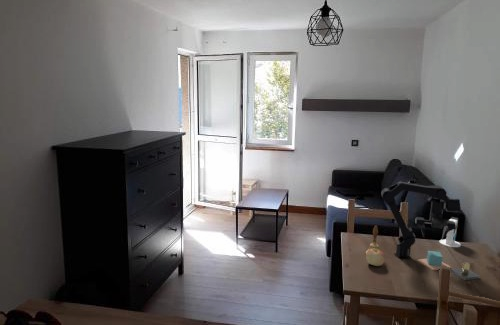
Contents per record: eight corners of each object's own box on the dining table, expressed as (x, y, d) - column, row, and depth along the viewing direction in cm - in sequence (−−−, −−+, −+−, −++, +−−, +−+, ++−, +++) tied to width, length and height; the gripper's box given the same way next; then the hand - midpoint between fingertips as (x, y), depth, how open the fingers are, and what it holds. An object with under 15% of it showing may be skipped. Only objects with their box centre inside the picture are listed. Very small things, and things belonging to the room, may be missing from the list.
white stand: (458, 249, 219) (462, 224, 216) (437, 244, 225) (440, 219, 223) (462, 243, 228) (465, 219, 225) (441, 238, 235) (444, 214, 232)
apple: (368, 259, 202) (370, 245, 200) (385, 264, 197) (387, 249, 195) (363, 265, 195) (364, 250, 193) (380, 270, 190) (382, 255, 188)
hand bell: (362, 252, 211) (364, 224, 208) (374, 250, 214) (376, 222, 211) (372, 258, 204) (375, 229, 201) (384, 256, 207) (387, 228, 204)
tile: (432, 270, 192) (432, 268, 191) (417, 260, 202) (417, 259, 202) (450, 268, 194) (450, 266, 194) (435, 259, 205) (435, 257, 205)
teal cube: (428, 264, 196) (429, 255, 195) (426, 259, 202) (427, 250, 201) (441, 266, 194) (442, 256, 194) (438, 261, 200) (440, 252, 199)
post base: (464, 280, 182) (466, 268, 181) (450, 271, 191) (451, 260, 190) (479, 278, 185) (481, 266, 184) (465, 269, 193) (466, 258, 192)
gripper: (419, 212, 194) (415, 241, 197) (460, 217, 188) (455, 247, 191) (416, 206, 204) (413, 234, 207) (455, 210, 199) (451, 239, 202)
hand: (433, 238), depth 202 cm, fingers open, 9 cm apart
